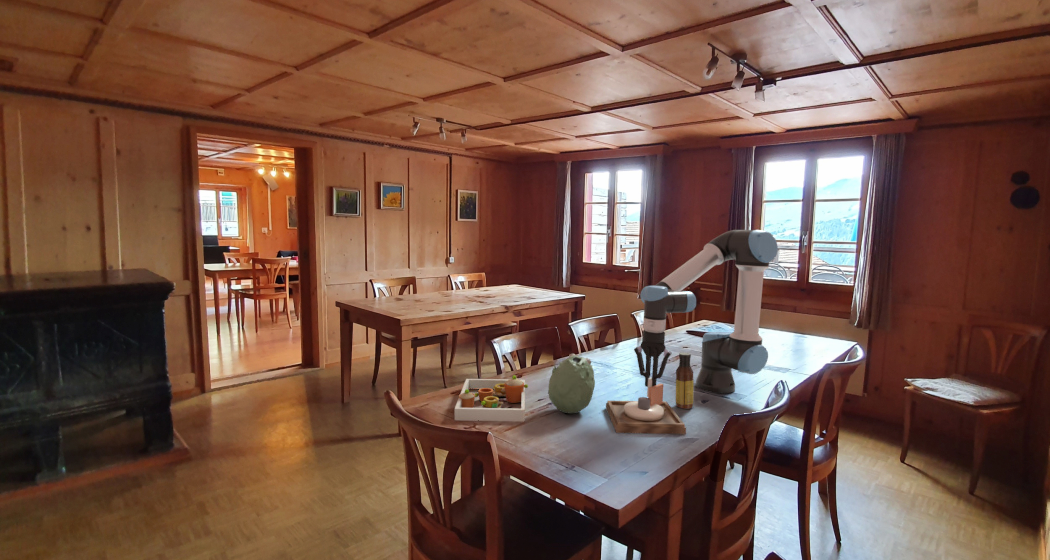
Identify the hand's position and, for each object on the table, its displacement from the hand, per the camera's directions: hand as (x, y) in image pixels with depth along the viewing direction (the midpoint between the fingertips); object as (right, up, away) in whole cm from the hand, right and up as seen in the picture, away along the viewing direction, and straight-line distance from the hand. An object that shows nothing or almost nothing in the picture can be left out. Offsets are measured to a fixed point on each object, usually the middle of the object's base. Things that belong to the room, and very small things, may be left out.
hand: (649, 395), depth 180 cm
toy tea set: (-56, -4, +7) cm, 57 cm away
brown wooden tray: (-4, -7, -7) cm, 11 cm away
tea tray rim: (-56, -4, +7) cm, 57 cm away
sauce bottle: (+14, -6, +7) cm, 17 cm away
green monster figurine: (-28, -6, 0) cm, 29 cm away
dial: (-2, -4, -6) cm, 8 cm away
